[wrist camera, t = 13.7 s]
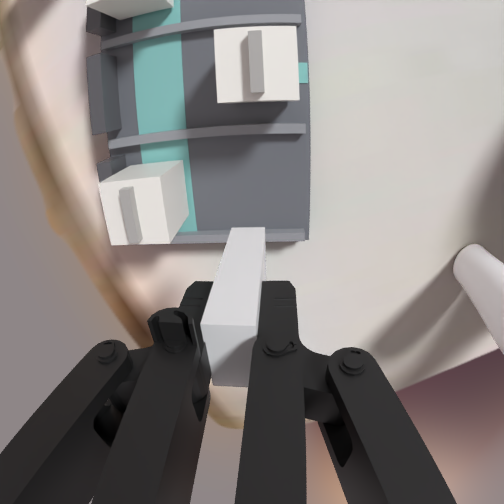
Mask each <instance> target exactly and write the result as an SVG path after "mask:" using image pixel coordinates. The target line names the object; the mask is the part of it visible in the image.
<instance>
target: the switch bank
mask: <svg viewBox="0 0 504 504" xmlns="http://www.w3.org/2000/svg"><path fill="white" fill-rule="evenodd" d="M253 26H296V32H297V49H298V70H299V97H300V100H298V101H275V102H245V103H217V86H216V67H215V47H214V30H215V29H224V28H236V27H253ZM86 32H89V33H92V34H96V35H99V36H101V53H99V54H96V55H93V56H90V57H87V80H88V95H89V107H90V118H91V127H92V135H96V134H101V133H105V132H107V134H108V147H109V150H110V158H108V159H106V160H103V161H101V162H99V163H97V170H98V176H99V182H102V181H103V180H105V179H107V178H109V177H110V176H112V175H114V174H116V173H118V172H119V171H121V170H123V169H125V168H127V167H129V166H131V165H138V164H147V163H155V162H165V161H175V160H183V166H184V175H185V184H186V193H187V201H188V209H189V215H188V217H187V218H186V220H185V221H184V223H183V224H182V226H181V227H180V229H179V231H178V232H177V234H176V235H175V237H174V238H173V240H172V241H171V243H170V244H185V243H227V240H228V237H229V234H230V231H231V228H239V227H265V242H284V241H305V240H309V216H310V92H309V65H308V45H307V29H306V15H305V2H304V0H174V7H173V8H167V9H163V10H158V11H154V12H149V13H145V14H141V15H137V16H134V17H130V18H126V19H123V20H118V19H116V18H114V17H111V16H109V15H107V14H104V13H102V12H100V11H97V10H95V9H92V8H90V7H87V25H86ZM139 245H147V244H139Z"/></svg>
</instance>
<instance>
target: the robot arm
mask: <svg viewBox="0 0 504 504" xmlns="http://www.w3.org/2000/svg"><path fill="white" fill-rule="evenodd" d="M147 322H148V325H149V328H150V331H151V335H152V338H153V341H154V344H153V346H151V347H147V348H142V349H135V350H128V349H127V347H126V345H125V344H124V343H122V342H121V341H118V340H106V341H103V342H101V343H98V344H97V345H96V346H95V347H93V348H92V349H91V350H90V351H89V352H88V353H87V354H86V356H85V357H84V358H83V359H82V360H81V361H80V362H79V363H78V364H77V365H76V366H75V368H73V370H72V371H71V372H70V373H69V374H68V375H67V376H66V377H65V379H64V380H63V381H62V382H61V383H60V384H59V385H58V386H57V387H56V388H55V390H54V391H53V392H52V393H51V394H50V395H49V396H48V398H47V399H46V400H45V401H44V402H43V403H42V405H41V406H40V407H39V408H38V409H37V410H36V411H35V413H34V414H33V415H32V416H31V417H30V418H29V420H28V421H27V422H26V423H25V424H24V426H23V427H22V428H21V429H20V431H19V432H18V433H17V434H16V435H15V436H14V438H13V439H12V440H11V441H10V443H9V444H8V445H7V446H6V447H5V449H4V450H3V451H2V452H1V454H0V504H89V502H90V501H91V499H92V498H93V500H92V503H91V504H190V500H191V494H192V489H193V484H194V479H195V474H196V469H197V463H198V458H199V453H200V448H201V443H202V438H203V433H204V428H205V423H206V418H207V413H208V409H209V404H210V391H209V384H210V379H211V378H212V383H213V385H216V386H233V387H248V394H247V403H246V411H245V420H244V429H243V438H242V446H241V455H240V464H239V472H238V480H237V488H236V496H235V504H306V439H305V438H306V437H305V418H307V419H311V420H315V421H318V424H319V427H320V430H321V432H322V435H323V437H324V440H325V443H326V446H327V449H328V451H329V454H330V457H331V459H332V462H333V465H334V467H335V470H336V473H337V475H338V478H339V481H340V483H341V486H342V489H343V492H344V494H345V497H346V500H347V502H348V504H457V503H456V501H455V499H454V497H453V495H452V493H451V492H450V489H449V488H448V486H447V484H446V482H445V480H444V478H443V477H442V474H441V472H440V471H439V469H438V467H437V465H436V463H435V461H434V460H433V458H432V456H431V454H430V452H429V450H428V449H427V447H426V445H425V443H424V441H423V440H422V438H421V436H420V434H419V433H418V431H417V429H416V427H415V426H414V424H413V422H412V420H411V419H410V417H409V415H408V413H407V412H406V410H405V409H404V407H403V405H402V403H401V401H400V400H399V398H398V397H397V395H396V393H395V391H394V390H393V388H392V386H391V385H390V383H389V381H388V380H387V378H386V377H385V375H384V373H383V372H382V370H381V368H380V367H379V365H378V363H377V362H376V360H375V359H374V358H373V357H372V356H371V354H370V353H368V352H366V351H364V350H362V349H359V348H354V347H349V348H342V349H340V350H337V351H335V352H334V353H333V354H332V355H331V356H327V355H322V354H318V353H315V352H312V351H311V350H309V349H307V348H306V347H305V346H304V345H303V344H302V343H301V341H300V339H299V333H298V318H297V304H296V291H295V288H294V286H293V285H292V284H291V283H290V281H266V246H265V227H239V228H231V231H230V234H229V237H228V240H227V243H226V246H225V249H224V252H223V255H222V258H221V261H220V264H219V267H218V270H217V273H216V276H215V280H214V282H210V281H195V282H194V283H193V284H192V285H191V286H189V287H188V288H187V290H186V292H185V294H184V296H183V299H182V301H181V303H180V307H179V308H166V309H163V310H160V311H158V312H156V313H154V314H153V315H151V317H150V318H149V319H148V320H147ZM108 399H109V400H108ZM93 496H94V497H93Z"/></svg>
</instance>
